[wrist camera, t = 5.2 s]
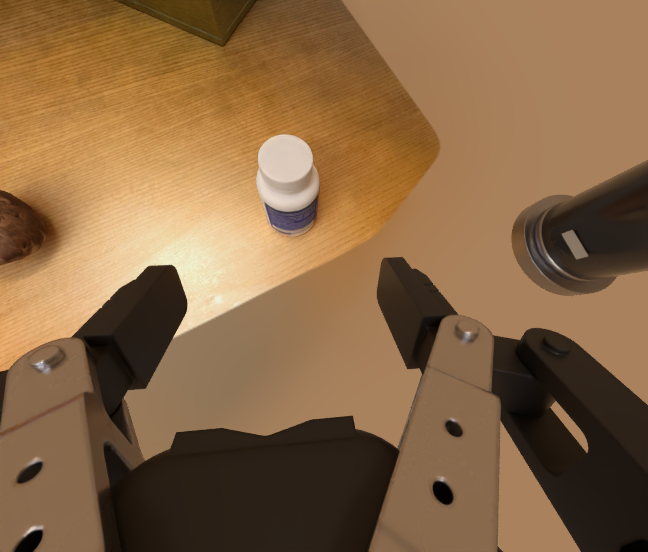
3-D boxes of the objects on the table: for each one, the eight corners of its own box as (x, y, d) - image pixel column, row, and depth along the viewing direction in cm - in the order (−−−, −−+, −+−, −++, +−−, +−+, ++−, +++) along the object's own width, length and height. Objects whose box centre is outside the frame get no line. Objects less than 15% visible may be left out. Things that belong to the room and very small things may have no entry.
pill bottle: (325, 222, 27) (336, 171, 18) (282, 246, 26) (272, 204, 17) (299, 183, 28) (298, 115, 19) (257, 205, 27) (234, 144, 18)
